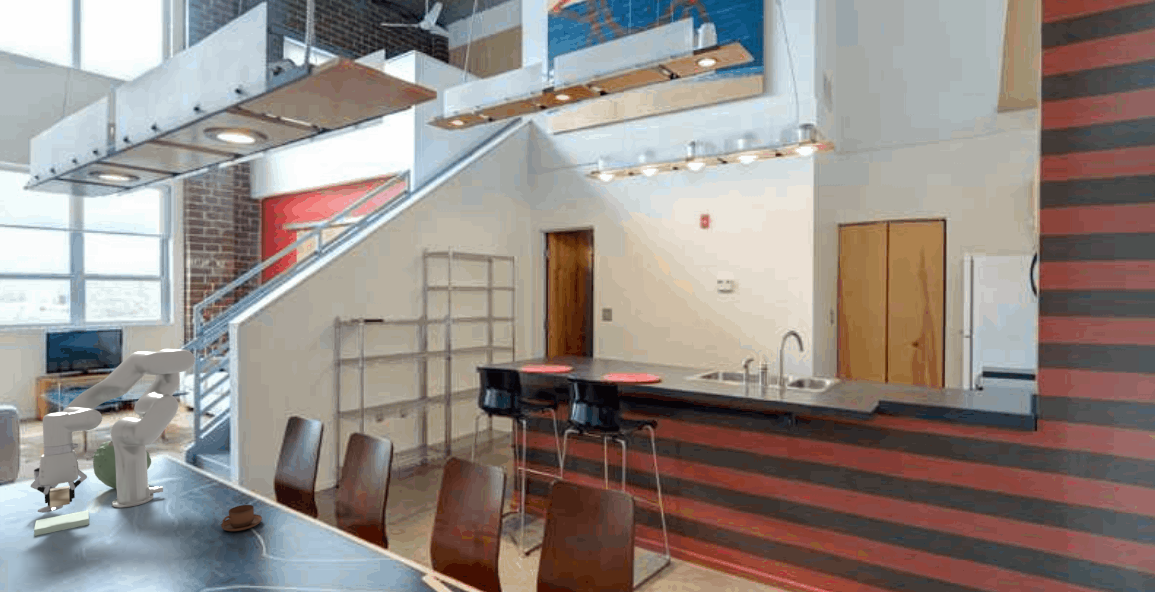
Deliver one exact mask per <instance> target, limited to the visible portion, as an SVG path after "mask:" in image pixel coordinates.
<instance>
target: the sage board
mask: <svg viewBox="0 0 1155 592" xmlns="http://www.w3.org/2000/svg"><path fill="white" fill-rule="evenodd" d="M87 525H90V511H89V509H87V510H81V511H76V512H72V513H67V514H61V515H56V516H52V517H51V516H50V517H47V518H40V519H37V520H35V524H34V529H33V533H34V537H35V536H41V535H45V534H46V535H47V534H49V533H54V532H59V531H60V532H61V531H64V530H69V529H74V528H78V527H83V526H87Z"/></svg>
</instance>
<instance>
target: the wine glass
mask: <svg viewBox="0 0 1155 592" xmlns="http://www.w3.org/2000/svg"><path fill="white" fill-rule="evenodd" d="M39 468H40V466H39V467H37V468H34V469H33V476H34V477H33V478H34V481H35V480H36V478H37V477H38V476H39ZM38 485H40V482H39V483H38ZM40 486H42V487H44V488H45V486H43V485H40ZM58 486H59V484H54V485H50V489H52V488H57V487H58ZM50 489H49V491H50ZM63 507H64V505H62V506H56V507H51V508H50V506H48V505H46V506H44V507H41V508H38V510H37V513H49V512H53V511H58V510H60V509H62V508H63Z"/></svg>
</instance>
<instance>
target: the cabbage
mask: <svg viewBox="0 0 1155 592" xmlns="http://www.w3.org/2000/svg"><path fill="white" fill-rule="evenodd" d="M146 453H147V471H148V470H149V468H150V467H151V465H152V459H151V455H150V453H149V452H148V450H147V449H146ZM91 458H92V459H93V461H92V466H93V472H94V474H95V477H96V479H98V480H99V481H100V482H102V483H103V484H104V485H105V486H107V487H110V488H113V489H117V487H116V466H115V451H114V446H113V442H112V440H109V441H108V440H107V441H106V442H104V441H103V442H102V443H99V445H98V448H96V451H94V452H93V456H91Z"/></svg>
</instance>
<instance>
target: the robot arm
mask: <svg viewBox="0 0 1155 592" xmlns="http://www.w3.org/2000/svg"><path fill="white" fill-rule="evenodd" d="M195 359H196V358H195V355H194V354H193V352H191V351H190V350H187V349H181V348H180V349H179V348H163V349H160V350H158V351H134V352H132V353H131V354H129V355H128V356H127V357H126V358H125V359H124V360H123V361H122V362H121V363H120V364H119V365H118V366H116V368H115V369H114V370H113V371H111V372H110V373H109V374H108V375H107V376H106V377H105V378H104V379H103V380H102V381H100V382H98V383H96V384H94V385H92V386H91V387H89V388H88V389H86V390H84V391H83V392H81V393H80V394H79V395H77V396H76V397H75V398H74V399H73V400H71V402H69V403H68V404H67V406H65V408H64V409H63V410H62V411H57V412H51V413H47V414H45V415H43V418H42V432H43V433H42V436H43V438H42V439H43V440H42V441H43V454H41V456H40V459H39V460H40V461H39V467H40V468H39V467H38V468H39V476H38V477H37V478H36V480H35V479H34V480H33V482H32V483H31V484H30V488H32V489H34V490H37V491H38V492H40V493H42V494H43V495H44V503H45V504H47V506H50V491H49V489H50V485H54V484H58V485H59V484H60V485H61V484H65V483H67V484H68V486H69V487H70V489H69V499H70V503H72V502H73V499H76V497H75V496H76V495H75V490H76V488H77V487H78V486H80V484H81V483H84V481H85V480H86V479H87V478H88V476H87V474H86V473H84V472H83V471H82V470H80V468H79V460H78V454H77V451H76V450H74V449H76V448H79V443H74V442H73V433H74V432H75V433H76V432H84V431H85V432H86V431H91V430H94V429H95V428H97V427H99V425H101V423H102V421H103V416H102V414H101V412H100V411H98V410H96V409H95V408H97V407H98V406H100V405H102V404H103V403H106V402H107V401H110V400H111V401H112V400H114V399H117V398H120V397H122V396H125V395H126V394H127V393H128V392H129V391H130V390H131V389H132V388H133V387H134V386H135V385H136V384H137V383H138V382H139V381H140V380H141V379H142V378H143V377H144V376H145V375H150V376H151V375H155V377H154V380H153V381H152V382H151V384H150V385H149V386H148V387H147V389H146V390H145V391H144V392H143V393H142V395H141V396H140V397H139V399H138V400H137V401H136V402H135V405H134V407H133V408H134V413H135V414H136V415H137V416H139V417H132V416H126V417H122V418H119V419H118V420H117V421H115V423H114V424H113V425H112V426H111V430H110V437H111V441H112V442H113V446H114V451H115V466H116V487H117V488H116V498H115V499H113V501H112V502H111V506H112V507H114V508H119V509H120V508H121V509H122V508H131V507H136V506H139V505H143V504H147V503H148V502H151V501H153V499H154V494H157V493H164V487H163V486H160V487H159V486H154V487H151V486H150V484H149V481H148V478H149V477H148V470H147V453H146V450H147V448H146V446H149V445H151V444H153V443H155V442H156V441H157V440H158V439H159V437H160V436H161V435H162V434H163V432H164V431H165V430H166V428H167V427H168V425H169V424H170V423H171V422H172V421H173V419H174V418H175V416H176V415H177V412H178V409H179V402H178V400H177V398H176V397H175V396H174V394H175V393H176V391H177V390H178V387H179V384H180V374H179V373H183V372H186V371H188V370H190V369H191V368H193V366H194V364H195V361H196V360H195ZM140 417H141V418H140ZM79 477H80V478H79ZM39 482H40V485H43V486H45V488H44V487H42V486H40V485H38V483H39Z"/></svg>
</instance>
